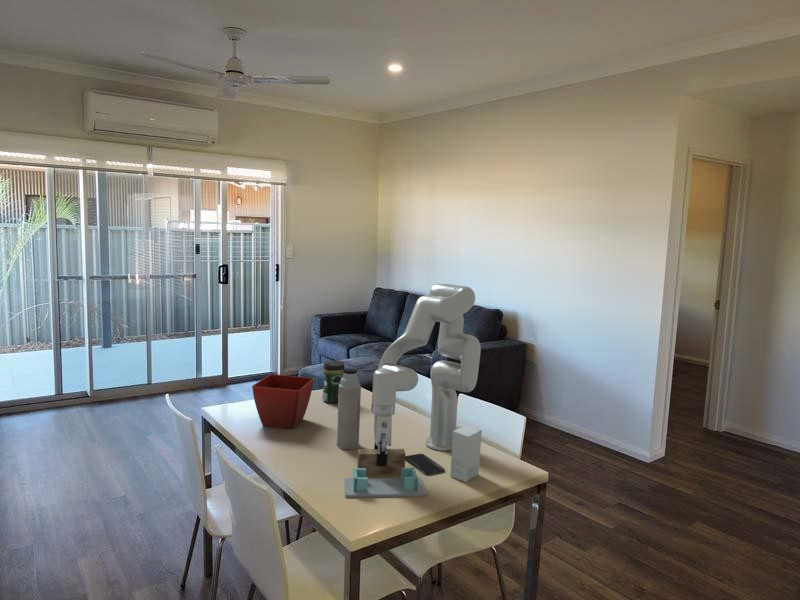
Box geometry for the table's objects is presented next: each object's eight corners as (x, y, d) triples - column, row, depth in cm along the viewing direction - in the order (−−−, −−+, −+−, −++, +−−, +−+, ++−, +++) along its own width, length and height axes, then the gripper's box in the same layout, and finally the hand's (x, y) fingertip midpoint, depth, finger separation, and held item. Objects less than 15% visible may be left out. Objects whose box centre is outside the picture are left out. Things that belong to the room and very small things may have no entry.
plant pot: (297, 433, 212) (299, 390, 210) (250, 428, 215) (251, 385, 213) (313, 417, 231) (314, 377, 229) (269, 413, 234) (270, 374, 232)
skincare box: (463, 469, 186) (466, 424, 184) (480, 475, 182) (483, 429, 180) (449, 477, 179) (451, 430, 178) (466, 483, 175) (469, 435, 174)
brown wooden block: (402, 469, 184) (403, 448, 183) (404, 474, 180) (405, 453, 179) (357, 469, 182) (358, 449, 181) (358, 475, 178) (358, 454, 177)
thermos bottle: (361, 442, 206) (364, 368, 202) (355, 450, 198) (358, 373, 195) (340, 440, 207) (343, 366, 204) (333, 447, 199) (336, 371, 196)
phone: (422, 453, 196) (445, 469, 183) (422, 456, 196) (445, 472, 183) (402, 456, 192) (425, 473, 179) (402, 459, 193) (425, 476, 180)
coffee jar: (339, 397, 261) (340, 358, 259) (346, 402, 254) (347, 362, 252) (319, 399, 256) (321, 359, 254) (326, 404, 249) (327, 363, 247)
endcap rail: (420, 479, 176) (421, 465, 176) (426, 496, 165) (427, 480, 165) (344, 480, 173) (344, 466, 173) (345, 497, 162) (345, 481, 162)
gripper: (398, 416, 170) (394, 470, 172) (391, 400, 188) (388, 450, 189) (373, 416, 169) (370, 470, 171) (369, 400, 187) (366, 449, 188)
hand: (380, 459), depth 180 cm, fingers open, 9 cm apart
